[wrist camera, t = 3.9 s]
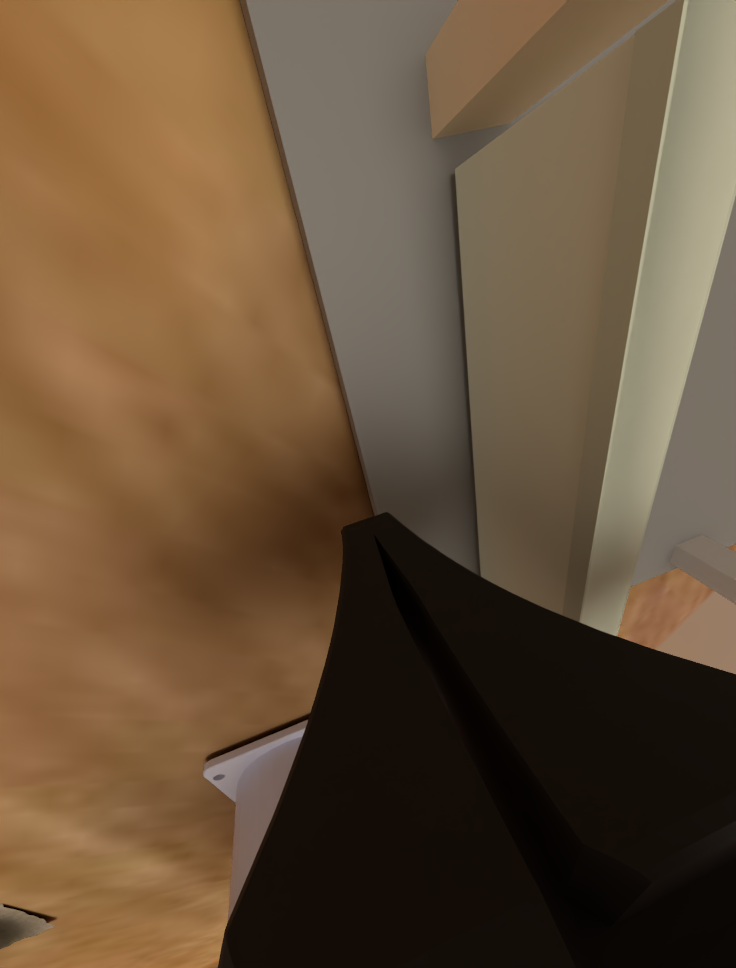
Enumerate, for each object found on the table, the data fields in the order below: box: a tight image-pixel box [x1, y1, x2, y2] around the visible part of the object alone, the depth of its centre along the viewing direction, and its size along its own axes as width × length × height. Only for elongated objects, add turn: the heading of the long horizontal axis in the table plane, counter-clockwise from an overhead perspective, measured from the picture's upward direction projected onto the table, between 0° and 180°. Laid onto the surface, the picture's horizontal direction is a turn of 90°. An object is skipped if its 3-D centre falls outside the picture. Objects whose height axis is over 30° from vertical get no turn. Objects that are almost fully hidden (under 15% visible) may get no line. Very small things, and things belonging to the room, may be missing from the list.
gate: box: [455, 0, 736, 636], centre depth 9 cm, size 15×1×5 cm, turn 13°
